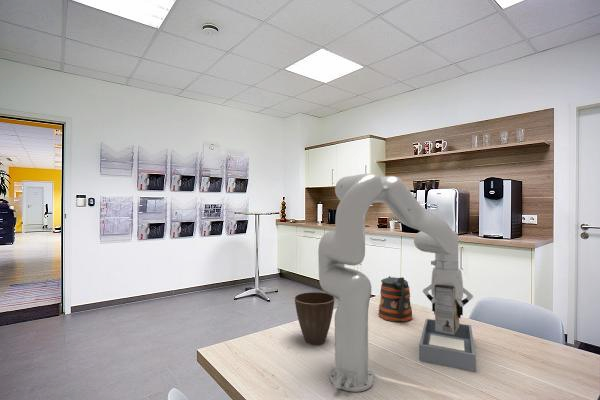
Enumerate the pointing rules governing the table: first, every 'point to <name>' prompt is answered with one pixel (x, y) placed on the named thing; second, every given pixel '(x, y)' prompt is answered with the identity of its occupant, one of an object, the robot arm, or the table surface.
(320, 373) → the table surface
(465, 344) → the tote
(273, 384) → the table surface
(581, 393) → the table surface
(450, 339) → the cream rectangular block
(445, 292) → the coffee box
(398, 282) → the beer stein
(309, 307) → the plant pot
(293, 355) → the table surface
